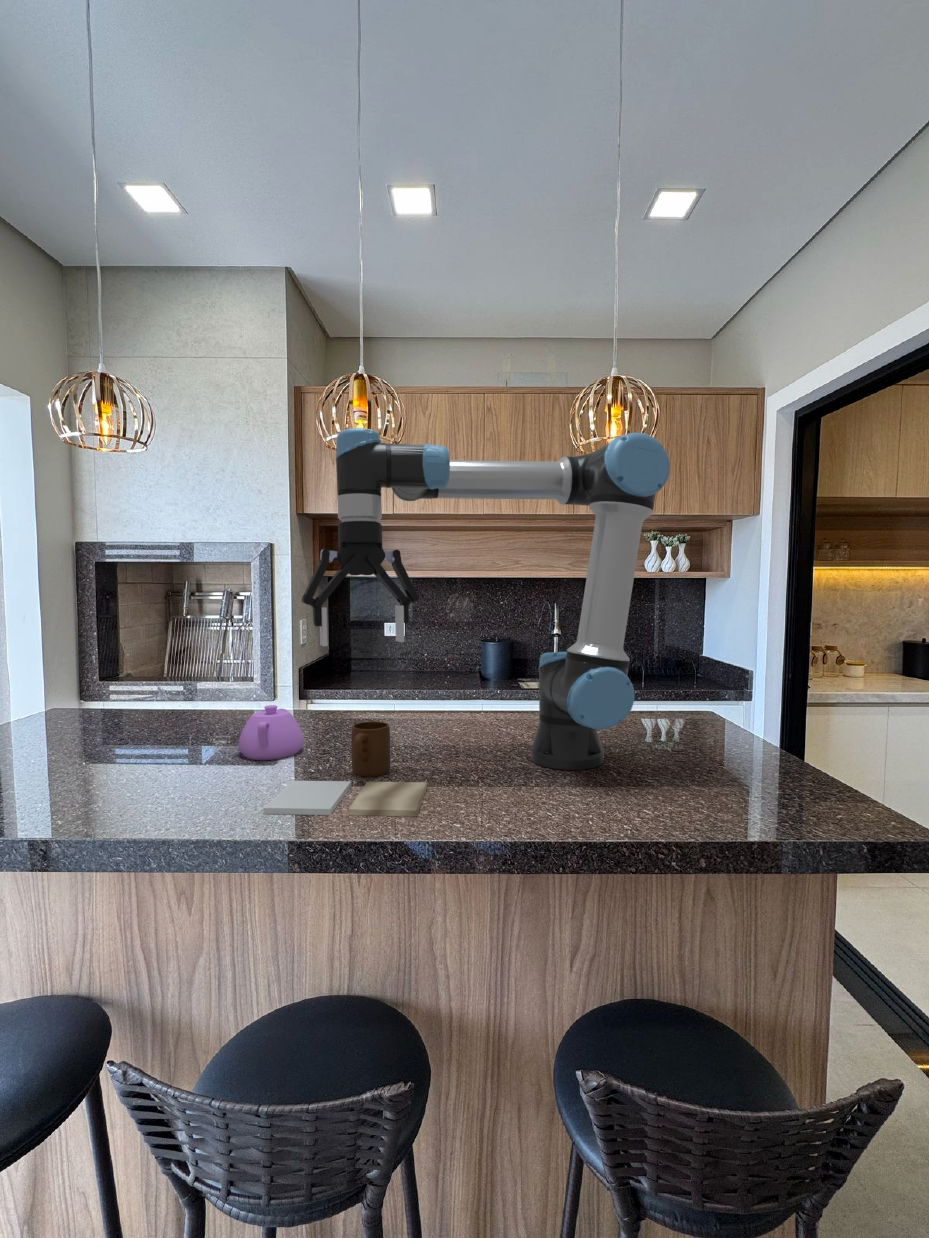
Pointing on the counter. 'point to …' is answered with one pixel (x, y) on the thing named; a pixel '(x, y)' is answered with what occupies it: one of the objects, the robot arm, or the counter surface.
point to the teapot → (271, 735)
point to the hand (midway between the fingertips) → (362, 643)
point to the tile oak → (389, 799)
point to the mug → (370, 748)
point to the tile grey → (308, 798)
